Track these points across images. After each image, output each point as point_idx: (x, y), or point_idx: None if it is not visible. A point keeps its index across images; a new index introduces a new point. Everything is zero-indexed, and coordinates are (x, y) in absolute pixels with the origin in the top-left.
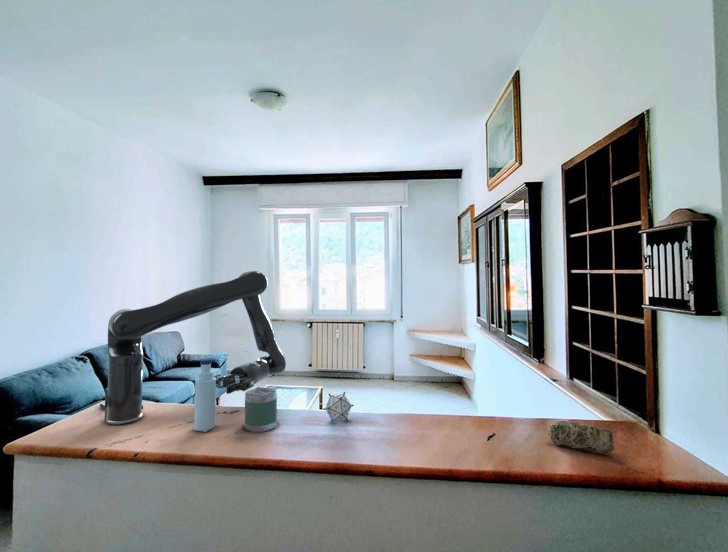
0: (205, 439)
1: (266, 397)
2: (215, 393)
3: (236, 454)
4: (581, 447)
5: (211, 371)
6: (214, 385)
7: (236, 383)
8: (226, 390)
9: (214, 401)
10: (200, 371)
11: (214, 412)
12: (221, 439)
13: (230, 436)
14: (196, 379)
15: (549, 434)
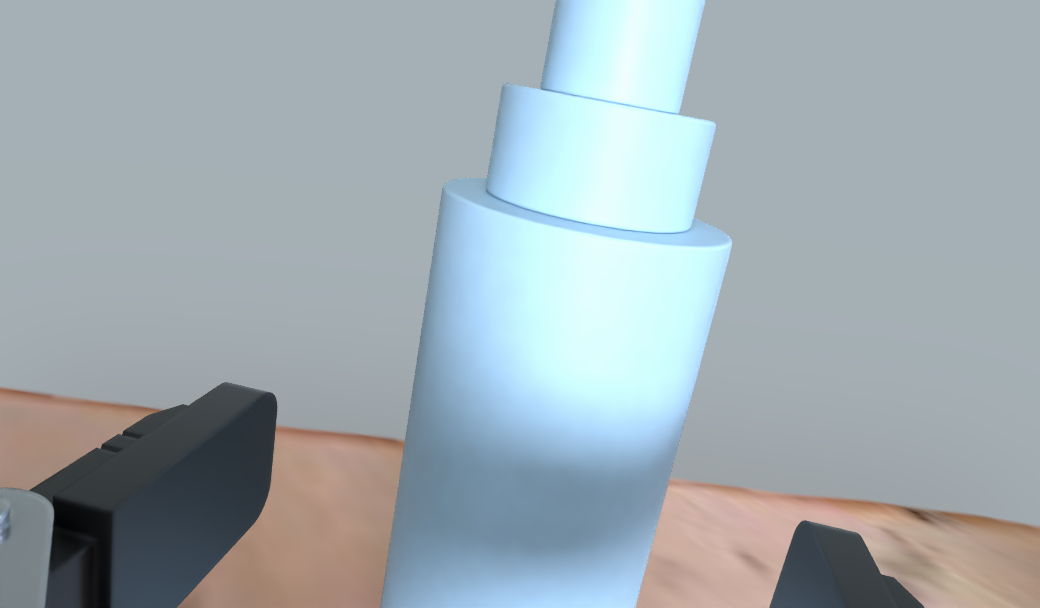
0: (364, 569)
1: None
2: (415, 399)
3: (104, 420)
4: None
5: (543, 89)
6: (431, 264)
7: (31, 506)
8: (270, 453)
9: (401, 472)
10: (711, 121)
11: (382, 594)
12: (228, 563)
13: None
14: (695, 220)
15: None
